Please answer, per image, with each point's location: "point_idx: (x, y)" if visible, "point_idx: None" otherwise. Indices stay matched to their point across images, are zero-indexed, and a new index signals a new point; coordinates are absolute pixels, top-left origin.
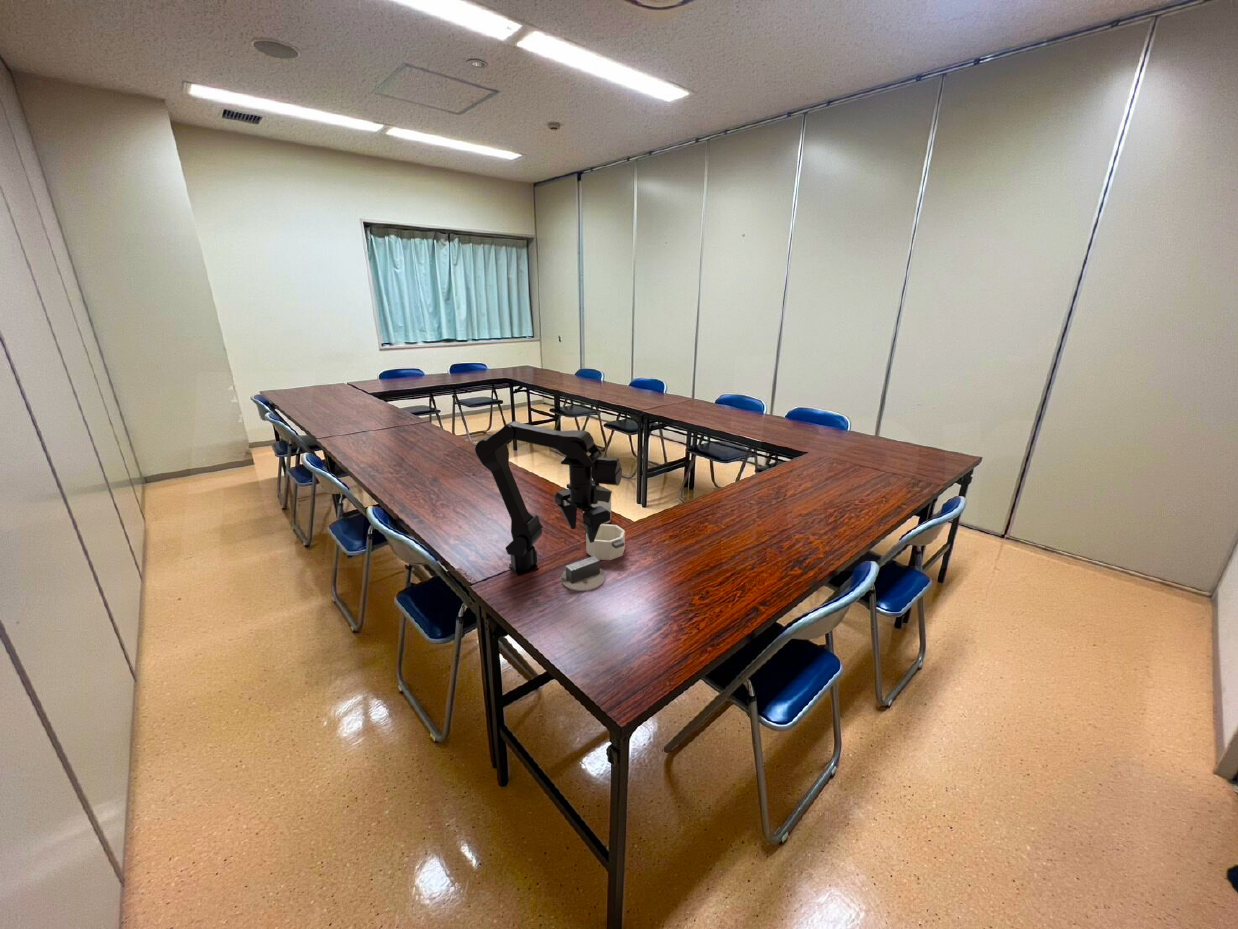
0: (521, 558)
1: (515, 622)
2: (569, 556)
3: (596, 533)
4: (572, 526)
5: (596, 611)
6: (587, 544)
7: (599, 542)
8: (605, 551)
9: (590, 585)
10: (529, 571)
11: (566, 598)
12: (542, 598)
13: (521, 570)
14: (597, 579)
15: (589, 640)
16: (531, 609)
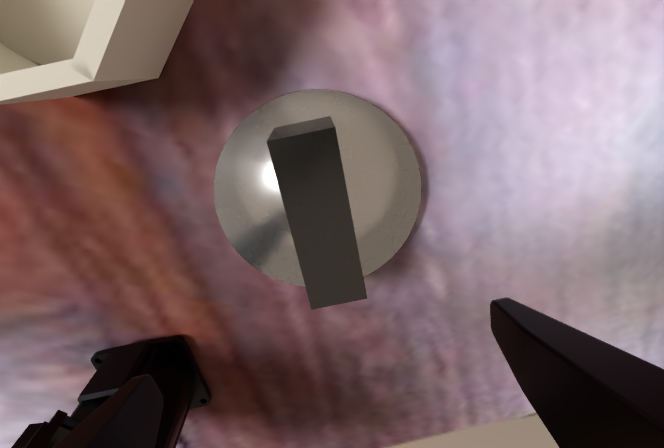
0: (173, 443)
1: (450, 427)
2: (100, 196)
3: (625, 359)
4: (148, 427)
5: (551, 221)
6: (45, 98)
7: (115, 41)
8: (164, 7)
9: (405, 195)
10: (197, 367)
11: (420, 291)
12: (379, 355)
13: (191, 395)
14: (377, 149)
15: (653, 286)
16: (417, 389)
